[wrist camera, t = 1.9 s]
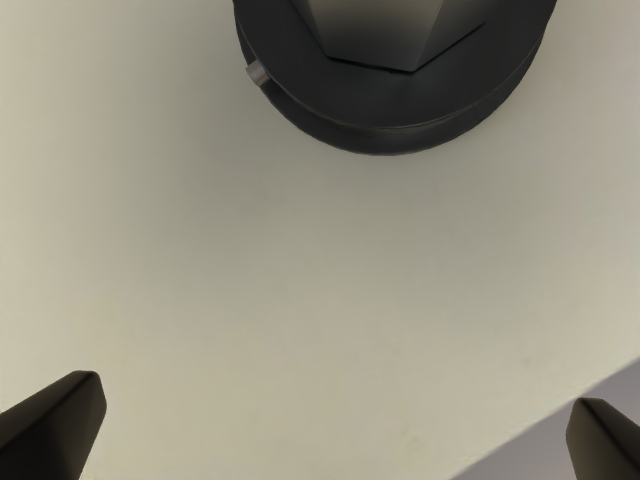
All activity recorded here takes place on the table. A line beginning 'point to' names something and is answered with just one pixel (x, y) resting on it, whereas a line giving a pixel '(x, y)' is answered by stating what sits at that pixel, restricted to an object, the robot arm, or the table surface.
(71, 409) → the robot arm
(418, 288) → the table surface
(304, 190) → the table surface
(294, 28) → the dark round pedestal
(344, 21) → the steel cup
